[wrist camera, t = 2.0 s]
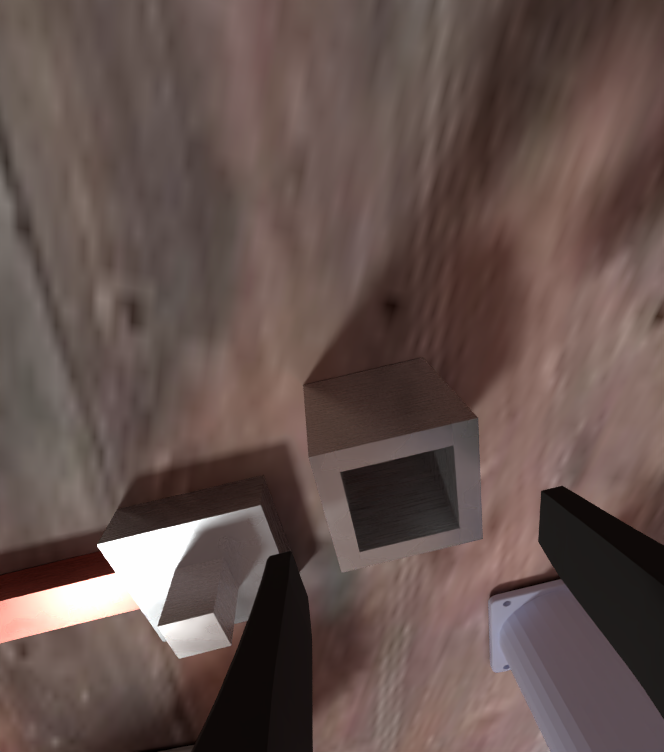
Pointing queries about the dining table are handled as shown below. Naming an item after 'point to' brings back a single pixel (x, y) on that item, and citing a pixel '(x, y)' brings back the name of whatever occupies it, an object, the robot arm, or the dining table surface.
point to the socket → (394, 463)
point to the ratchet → (159, 569)
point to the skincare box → (180, 749)
